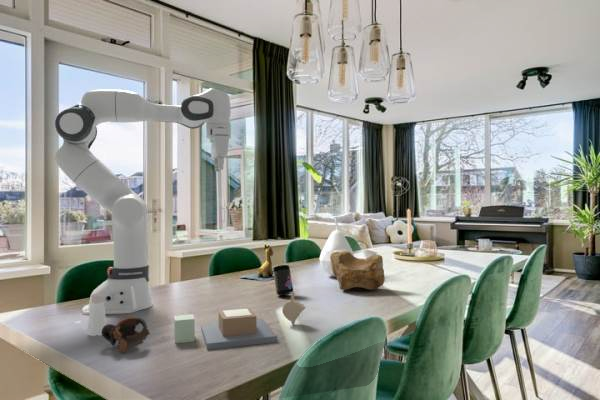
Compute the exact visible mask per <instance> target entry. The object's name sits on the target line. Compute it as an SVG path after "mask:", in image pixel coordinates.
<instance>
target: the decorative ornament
mask: <svg viewBox="0 0 600 400" xmlns="http://www.w3.org/2000/svg"><path fill="white" fill-rule="evenodd" d="M295 295H296V294H295V292H294V291H293V292H292V293H291V294H290V299H289V300H288V301H286V302H285V303H284V304H283V306H282V314H283V317H285V318H286V319H287V320H288V322H289V321H290V322H291V325H292V326H295V323H296V321H297V319H298V318H299V316H300V315H301V313H302V312H303V311H304V310H305V309H306V305H305V304H304V303H300V302H299V301H297V300H296V299H295V297H296V296H295Z"/></svg>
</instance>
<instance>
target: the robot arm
mask: <svg viewBox="0 0 600 400" xmlns="http://www.w3.org/2000/svg"><path fill="white" fill-rule="evenodd" d="M230 117H231V101H230V95H229V94H228V92H226V91H225V90H223V89H221V88H215V87H214V88H212V87H211V88H209V89H207V90H206V91H204V92H201V93H199V94H194V95H189V96H186V97H185V98H184V99H183V101H182V102H181V104H180V105H168V104H157V103H153V102H151V101H148V100H147V99H145V97H143V96H142V95H140V94H139V93H137V92H133V91H129V90H122V89H95V90H89V91H86V92H85V93H84V94H83V96H82V98H81V101H80V103H79V104H75V105H73V106H71V107H68V108H65V109H64V110H62V111H61V112H59V114H57V116H56V117H55V121H54V126H55V127H54V128H55V130H56V132H57V134H58V135H59V136H60V137H61V138H62V139H63V143H62V144H61V146H60V147H59V148H58V149H57V150H56V152H55V155H54V161H55V163H56V164H57V166H58V167H59V168H60V169H61V171H62V172H63V173H64V174H65V176H66V177H68V179H70V181H72V182H73V184H75V185H76V186H77V187H78V188H79V189H80V190H81V191H83V193H84V194H86V195H87V196H89V198H91V199H92V200H93V201H94V202H96V203H97V204H98V205H100V206H101V207H102V208H104V210H105V211H107V212H108V213H109V214H111V225H112V226H111V227H112V238H113V239H112V240H113V241H112V242H113V266H109V267H108V268H107V270H106V271H107V279H106V280H105V281H103V282H102V283H101V284H99V285H98V286H97V287H96V288H95V289H93V291H92V292H91V294H90V297H89V302H88V304H86V305H84V306H83V307H82V309H81V313H82V314H83V315H86V316H89V311H90V304H92V297H91V296H92V295H95V294H102V303H104V307H105V315H113V314H114V315H115V314H120V315H121V314H133V313H135V312H138V311H142V310H146V309H148V308H149V309H150V308H151V307H152V306H153V305H154V303H153V300H152V295H151V291H150V283H149V282H150V278H151V277H150V273H151V272H150V271H151V270H150V265H149V263H148V261H149V259H148V258H149V256H148V255H149V253H148V251H149V250H148V248H149V247H148V246H149V245H148V217H147V216H148V213H149V210H148V209H149V208H148V205H147V203H146V202H145V200H144V199H143V198H142V197H140V195H139V194H137V193H136V192H135V191H134V190H133V189H132V188H131V187H129V186H128V184H126V183H125V182H124V181H123V180H122V179H121V178H119V176H117V175H116V174H115V173H114V172H113V171H112V170H111V169H110V168H108V167H107V165H105V164H104V163H103V162H102V161H101V160H100V159H99V158H97V156H95V155H94V154H93V153H92V152H91V150H90V148H91V146H92V145H93V143H94V142H95V140H96V138H97V135H98V128H97V126H98V125H100V124H101V123H102V124H103V123H108V122H109V123H137V122H139V123H140V122H163V123H176V124H179V125H181V126H184V127H185V128H188V129H193V130H194V129H195V130H196V129H198V128H200V127H202V126H203V125H204V124H206V131H205V132H206V138H207V139H209V142H210V143H211V146H210V147H211V148H210V158H211V161H213V164H214V171H215V172H220V171H223V170H224V163H225V157H227V156H228V152H229V140H230V139H231V137H232V134H231V130H232V129H231V121H230Z"/></svg>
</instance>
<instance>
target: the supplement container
mask: <svg viewBox="0 0 600 400" xmlns="http://www.w3.org/2000/svg"><path fill="white" fill-rule="evenodd" d="M272 271H273V276H274V279H273V280H274V285H275V292H276V295H277V296H280V297H281V296H288V295H291V293H292V292H294V287H293V285H294V284H293V279H292V273H291V267H290V265H289V264H281V265H278V266H274V267H272Z"/></svg>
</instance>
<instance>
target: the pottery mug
mask: <svg viewBox="0 0 600 400" xmlns="http://www.w3.org/2000/svg"><path fill="white" fill-rule="evenodd" d="M140 324H141V325H142V330H141V331H140V332H139V331H136V328H137V326H139V325H140ZM101 333H102V335H101V336H102V337H103V338H104V339H105V340H106V341H108V342H110V344H111V346H114V345H116V343H117V342H118V346H119V347H118V352H119V353H123V354H125V353H126V352H127V350H130V349H132V348H133V347H136V346H138V345H140V344H142V343H143V342H144V340H146V338H148V336H149V335H151V333H150V330H149V329H148V325H147V323H146V321H145V320H144V319H142V318H140V317H135V316H131V317H125V318H123V319H121V320H119V321H118V322H117V323H116V325H115V324H111V323H109V324H107V325H105V326H104V327H103V329H102V332H101Z"/></svg>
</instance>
